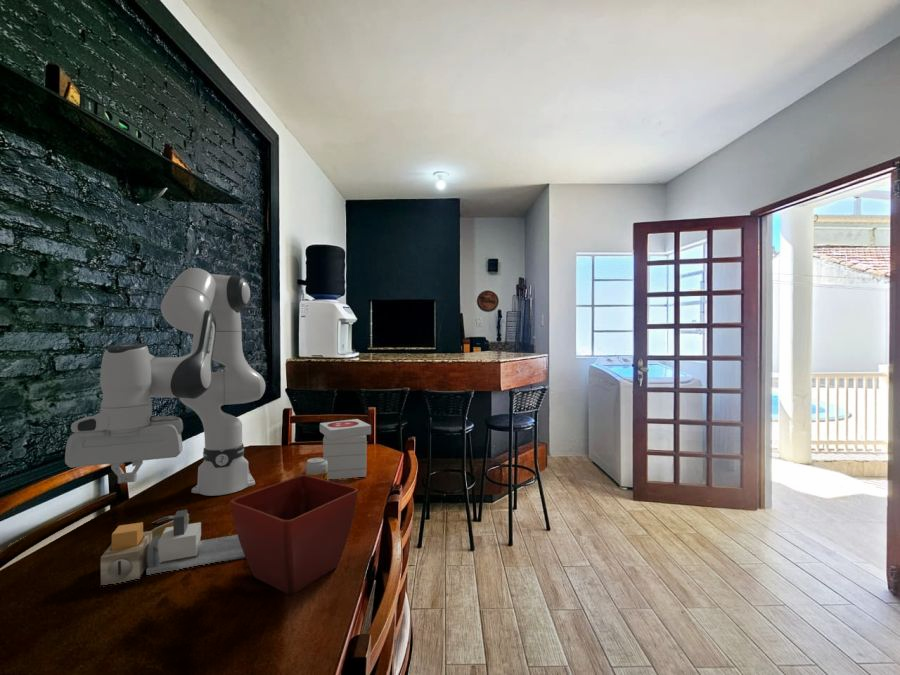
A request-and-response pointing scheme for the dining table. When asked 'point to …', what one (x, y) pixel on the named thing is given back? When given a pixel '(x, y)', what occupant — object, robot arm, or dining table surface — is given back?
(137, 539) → the orange cube
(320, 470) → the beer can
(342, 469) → the pizza boxes
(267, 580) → the plant pot
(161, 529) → the sunglasses
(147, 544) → the box
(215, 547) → the rail
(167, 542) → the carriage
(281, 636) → the dining table surface
